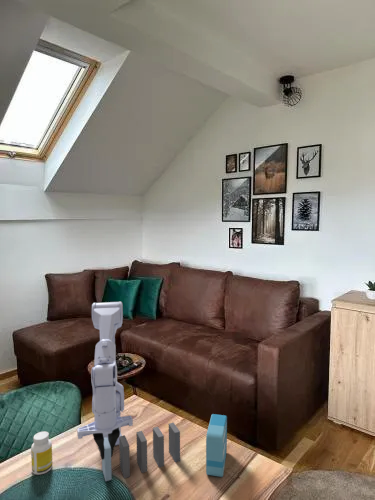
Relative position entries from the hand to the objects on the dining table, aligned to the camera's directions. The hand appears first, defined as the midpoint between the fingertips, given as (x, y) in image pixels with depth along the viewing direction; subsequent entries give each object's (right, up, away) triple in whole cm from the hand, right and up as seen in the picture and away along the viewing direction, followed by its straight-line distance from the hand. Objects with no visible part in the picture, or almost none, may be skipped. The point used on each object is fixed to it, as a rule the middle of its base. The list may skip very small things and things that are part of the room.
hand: (106, 455), depth 93 cm
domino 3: (+14, -6, +7) cm, 16 cm away
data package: (+31, -6, +6) cm, 32 cm away
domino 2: (+9, -6, +5) cm, 12 cm away
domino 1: (+5, -6, +3) cm, 8 cm away
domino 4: (+18, -5, +9) cm, 21 cm away
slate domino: (0, -5, 0) cm, 5 cm away
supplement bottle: (-19, -6, +4) cm, 20 cm away
